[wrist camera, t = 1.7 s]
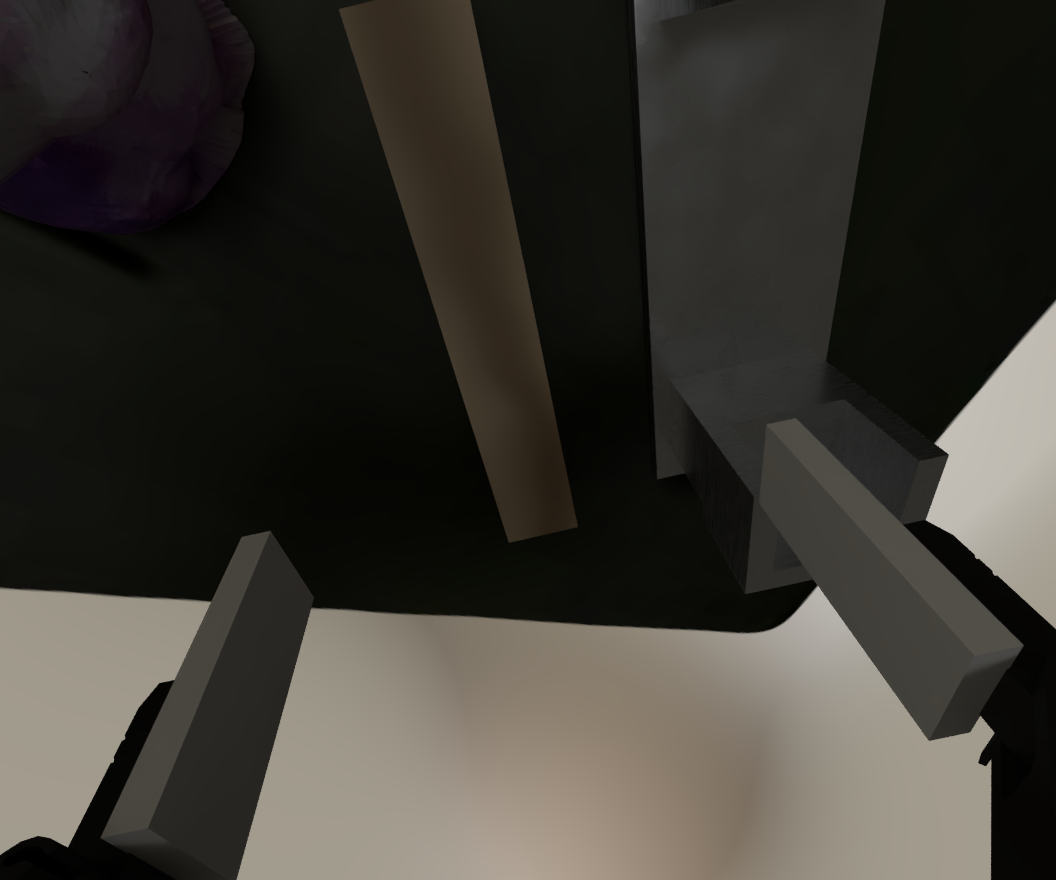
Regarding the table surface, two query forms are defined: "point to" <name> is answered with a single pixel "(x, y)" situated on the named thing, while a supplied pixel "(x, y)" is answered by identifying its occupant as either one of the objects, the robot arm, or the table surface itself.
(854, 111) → the bracket stand
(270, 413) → the table surface
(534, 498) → the rail
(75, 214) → the figurine
